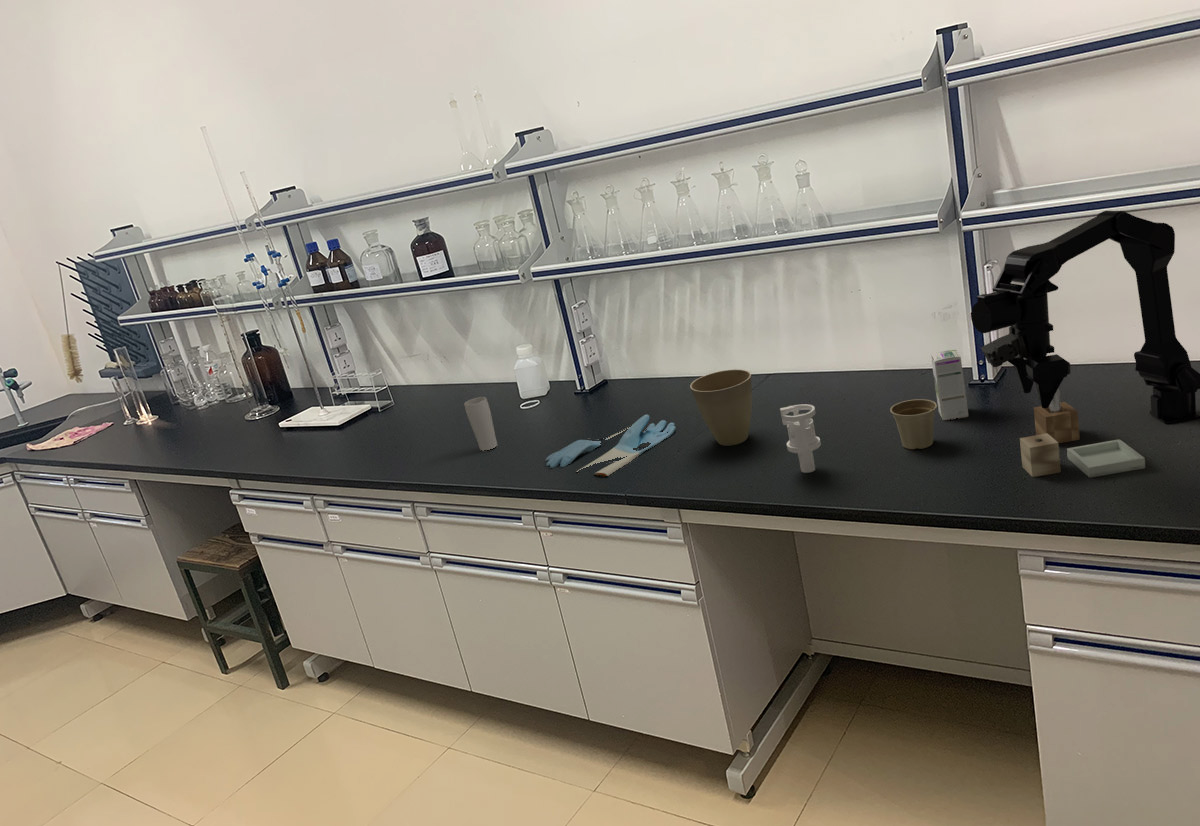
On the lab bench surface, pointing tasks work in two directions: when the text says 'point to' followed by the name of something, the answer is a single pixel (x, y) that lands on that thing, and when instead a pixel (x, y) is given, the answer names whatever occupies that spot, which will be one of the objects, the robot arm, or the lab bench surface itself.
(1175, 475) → the lab bench surface
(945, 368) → the syrup box
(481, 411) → the drinking glass
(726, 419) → the plant pot
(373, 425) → the lab bench surface
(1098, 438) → the lab bench surface
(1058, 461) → the maple block
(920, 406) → the flower pot
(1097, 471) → the tray
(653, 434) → the rubber gloves
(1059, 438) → the bored oak block
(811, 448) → the strainer
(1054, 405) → the rod
